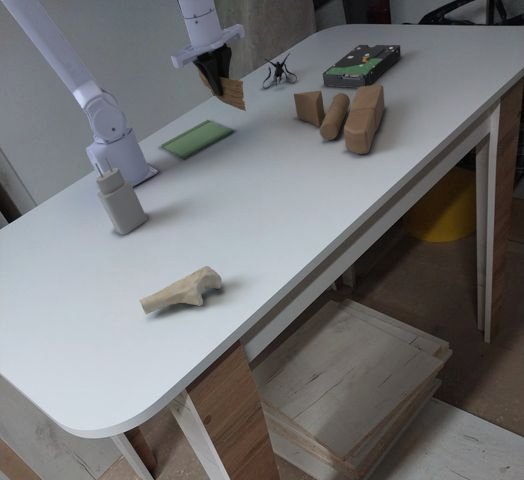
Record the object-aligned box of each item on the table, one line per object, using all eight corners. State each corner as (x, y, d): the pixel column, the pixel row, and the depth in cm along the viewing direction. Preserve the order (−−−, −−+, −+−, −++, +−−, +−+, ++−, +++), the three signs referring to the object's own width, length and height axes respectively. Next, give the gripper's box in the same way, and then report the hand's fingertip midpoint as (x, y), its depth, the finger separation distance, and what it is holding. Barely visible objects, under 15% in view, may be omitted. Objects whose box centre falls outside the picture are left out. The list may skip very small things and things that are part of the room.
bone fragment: (145, 311, 73) (134, 291, 71) (219, 278, 74) (211, 258, 72) (151, 330, 70) (140, 310, 67) (229, 296, 71) (221, 275, 68)
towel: (184, 159, 103) (183, 156, 103) (161, 147, 110) (161, 144, 109) (233, 132, 106) (232, 129, 106) (208, 121, 113) (207, 119, 113)
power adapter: (148, 218, 90) (119, 153, 82) (124, 235, 89) (91, 171, 80) (139, 214, 92) (109, 150, 84) (114, 230, 90) (81, 167, 82)
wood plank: (252, 108, 96) (247, 79, 92) (243, 112, 95) (237, 83, 92) (211, 92, 106) (205, 65, 102) (202, 95, 105) (196, 68, 102)
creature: (297, 90, 116) (297, 68, 120) (292, 67, 112) (293, 45, 115) (263, 97, 118) (264, 75, 122) (257, 75, 113) (258, 53, 117)
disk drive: (359, 58, 118) (323, 86, 111) (358, 44, 116) (321, 73, 109) (401, 58, 112) (365, 89, 105) (401, 44, 110) (364, 74, 103)
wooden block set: (383, 75, 94) (367, 123, 83) (385, 106, 98) (370, 156, 87) (294, 86, 100) (267, 132, 89) (299, 115, 104) (274, 163, 93)
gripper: (174, 31, 85) (201, 114, 95) (245, -3, 89) (264, 80, 99) (155, 27, 90) (182, 106, 99) (224, -5, 94) (243, 74, 103)
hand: (222, 93), depth 99 cm, fingers closed on wood plank, 1 cm apart
